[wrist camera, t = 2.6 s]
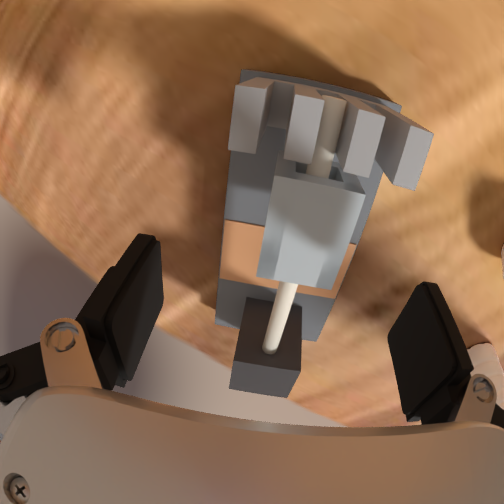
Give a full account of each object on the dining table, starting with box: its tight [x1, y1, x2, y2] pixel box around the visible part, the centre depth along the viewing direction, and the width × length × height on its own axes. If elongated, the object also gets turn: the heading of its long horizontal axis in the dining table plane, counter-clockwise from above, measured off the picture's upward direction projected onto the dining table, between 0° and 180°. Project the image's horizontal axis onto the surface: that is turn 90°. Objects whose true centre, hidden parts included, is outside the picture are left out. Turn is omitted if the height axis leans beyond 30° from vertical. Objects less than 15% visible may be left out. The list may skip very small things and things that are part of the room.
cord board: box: [215, 69, 434, 398], centre depth 18 cm, size 20×9×8 cm, turn 172°
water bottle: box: [467, 343, 504, 410], centre depth 18 cm, size 9×6×25 cm
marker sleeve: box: [256, 150, 366, 290], centre depth 14 cm, size 5×4×3 cm
